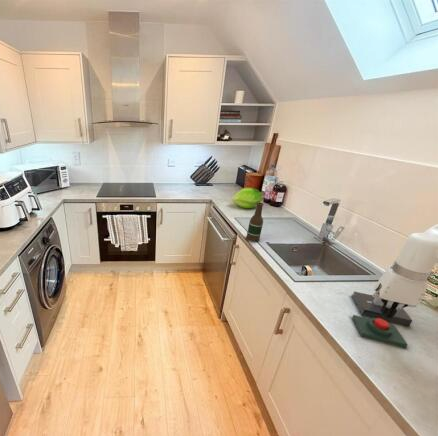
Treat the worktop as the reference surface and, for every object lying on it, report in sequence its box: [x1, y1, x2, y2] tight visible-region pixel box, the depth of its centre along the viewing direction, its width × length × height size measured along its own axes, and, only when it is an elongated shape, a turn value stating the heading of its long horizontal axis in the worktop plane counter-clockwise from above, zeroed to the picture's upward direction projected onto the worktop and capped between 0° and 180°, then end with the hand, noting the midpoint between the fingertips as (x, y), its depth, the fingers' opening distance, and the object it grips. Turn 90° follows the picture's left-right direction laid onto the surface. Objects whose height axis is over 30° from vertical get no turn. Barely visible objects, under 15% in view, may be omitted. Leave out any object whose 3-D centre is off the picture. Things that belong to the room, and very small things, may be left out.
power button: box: [374, 318, 390, 330], centre depth 82 cm, size 4×4×2 cm
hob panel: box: [351, 291, 413, 327], centre depth 93 cm, size 14×11×3 cm
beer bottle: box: [246, 202, 264, 243], centre depth 143 cm, size 8×8×24 cm
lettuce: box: [230, 187, 263, 209], centre depth 195 cm, size 19×25×17 cm
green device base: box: [351, 314, 409, 349], centre depth 83 cm, size 12×9×4 cm
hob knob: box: [373, 298, 384, 306], centre depth 91 cm, size 5×2×5 cm, turn 68°
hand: (386, 315), depth 81 cm, fingers closed
